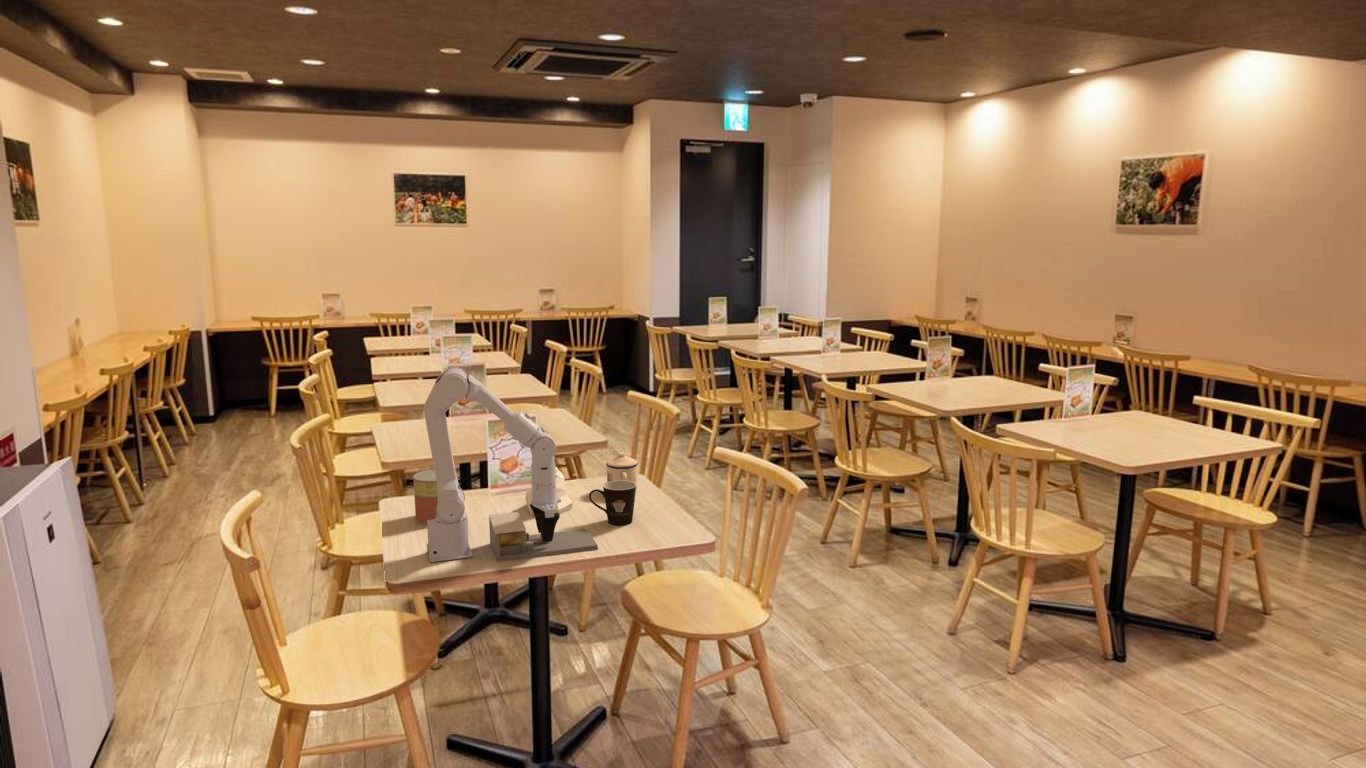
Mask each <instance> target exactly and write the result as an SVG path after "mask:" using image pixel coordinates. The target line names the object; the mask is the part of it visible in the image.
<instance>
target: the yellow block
mask: <svg viewBox="0 0 1366 768" xmlns="http://www.w3.org/2000/svg"><path fill="white" fill-rule="evenodd" d="M540 531H541V529H540ZM526 533H527V531H525V540H526ZM531 542H533V543H541V542H542V543H548V542H543V539H542V535H541V540H538V541H530V542H526V543H531ZM514 544H521V531H518V532H509V533H501V534H500V546H506V545H514Z"/></svg>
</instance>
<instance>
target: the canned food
mask: <svg viewBox="0 0 1366 768" xmlns="http://www.w3.org/2000/svg"><path fill="white" fill-rule="evenodd" d="M456 476H457V477H458V471H456ZM412 480H413V494H414V495H413V496H414V509H415V511H414V513H415V514H414V515H415V518H414V519H415V523H417V524H418V525H422V526H426V527H427V521H428V520H432V519H435V518H436V515H437V511H436V508H437V504H438V491H437V481H436V475H435V470H434V468H433V469H426V470H421V471H419V472H416V473H415V474H414V475H412Z"/></svg>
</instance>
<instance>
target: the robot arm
mask: <svg viewBox="0 0 1366 768" xmlns="http://www.w3.org/2000/svg"><path fill="white" fill-rule="evenodd" d="M463 398H465V401H466V402H476V403H479V404H480V405H481V406H483V407H484V408H485V409H487V410H488V411H490V412H491V413H492V414H493V415H495V416H496V417H497V418H498V419H499V420H501V421H502V422H503V425H504V427H503V428H504V431H505V432H507V433H508V434H509V435H510V436H512V438H514V439H515V440H516V441H517V442H519V443H520V444H521V445H522V446H523V447H525V448H528V449H530V453H531V465H530V469H531V470H530V471H531V472H530V473H531V474H530V475H531V490H532V501H531V504H530V507H531V509H532V510H533V513H534V515H533V516H534V519H535V523H536V527H537V531H538V534H541V535H542V539H543V542H550V541H552V540H553V535H554V532H555V529H556V526H557V524H558V521H559V519H560V516H561V514H559V513H554V508H555V506H556V504H557V503H560V502H561V498H556V471H555V467H556V463H555V459H556V457H555V456H556V453H557V450H558V449H557V447H556V442H555V440H554V438H553V436H552V435H551V434H550V432H549V431H548V430H546V429H545V428H544V427H543V426H541V427H540V426H539V425H538V424H537V423H536V422H534V421H533V420H532V419H531V415H530V414H529V413H528V412H525V413H524V412H523V411H522V410H521V411H513V410H512V409H511V408H509V406H507V405H506V404H505V403H504V402H503V401H502V400H501V399H500V398H499V397H497V395H495V393H493V392H492V391H491V390H490V389H489V388H488V387H487V386H486V385H484V384H483V383H482V382H481V381H480V380H478V379H477V378H475V377H474V376H473V375H471V374H467V372H466V371H465V370H464V369H463V368H461V367H458V366H452V367H451V366H450V367H448V368H446V369H445V370H444V371H442V373H441V374H440V375H439V376H437V377H436V379H435V381H434V384H433V386H432V388H431V390H430V393H429V395H428V396H427V398H426V400H425V402H424V405H423V414H424V420H425V424H426V425H425V426H426V431H427V435H428V441H429V442H428V443H429V446H430V451H431V458H432V462H433V469H434V470H435V475H436V481H437V491H438V504H437V508H436V511H437V515H436V518H435V519H432V520H428V521H427V526H426V529H427V543H426V551H427V552H428V556H429V562H431V563H435V562H443V561H451V560H459V559H469V558H472V557H473V553H472V550H471V547H470V542H469V541H470V540H469V527H468V526H469V525H468V518H469V517H468V513H467V512H466V511H465V508H466V507H465V499H466V495H465V492H464V490H463V489H462V488H461V487H460V483H459V479H458V475H457V476H456V472H457V470H456V465H455V460H454V455H453V449H452V443H451V438H450V433H449V432H450V431H449V427H448V425H449V424H448V419H447V414H446V413H447V411H448V410H449V409H450V408H451V407H452V406H453V404H456V403H457V402H459V401H460V400H462V399H463ZM540 529H541V531H540Z"/></svg>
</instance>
